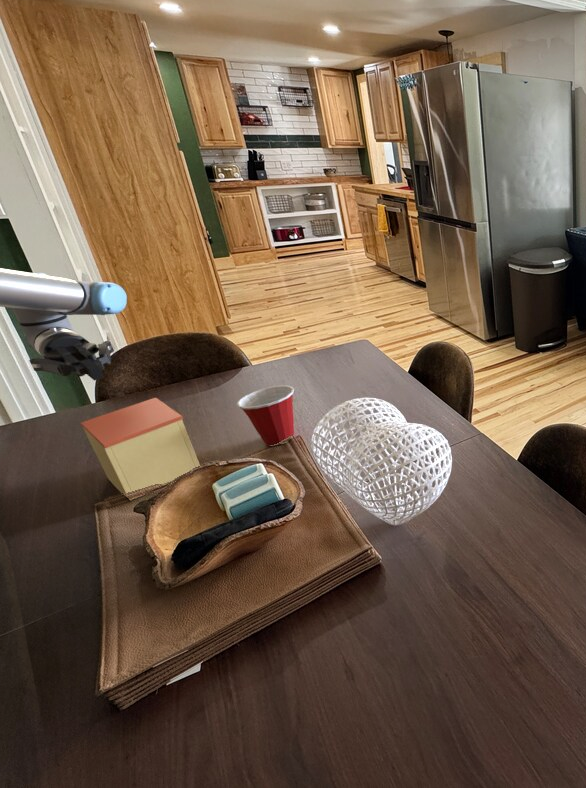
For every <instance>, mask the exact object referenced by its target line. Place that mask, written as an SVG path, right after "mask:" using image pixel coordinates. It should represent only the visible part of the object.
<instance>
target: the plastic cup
mask: <svg viewBox="0 0 586 788" xmlns="http://www.w3.org/2000/svg"><path fill="white" fill-rule="evenodd" d="M294 391H295V388H294V387H293V386H292V385H286V384H283V385H273V386H269V387H264V388H261V389H258V390H255V391H253V392H251V393H248V394H245V395H244V396H243V397H241V398H240V399H238V401H237V402H236V406H237V407H238V408H239V409H241V410H242V411H243V413H245V415H246V416H247V417H248V419H249V421H250V422H251V424H252V425H253V428H254V429H255V430H256V432H257V434H258V435H259V437H260V438H261V440H262V442H263V443H264V444H265V445H266V446H267V447H270V445H274V444H277V443H279V442H281V441H282V440H284V439H286V438H288V437H289V436H293V435H294V436H295V425H294V424H295V420H294V419H295V418H294V405H293V401H294V400H293V399H294V398H293V397H294Z"/></svg>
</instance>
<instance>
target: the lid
mask: <svg viewBox="0 0 586 788" xmlns="http://www.w3.org/2000/svg"><path fill="white" fill-rule="evenodd" d="M183 419H184V418H183V415H181V414H180V413H178V412H177V411H176V410H174V409H173V408H171V407H170V406H168V405H167V404H166V403H164V402H163V401H161V400H160V399H159V398H157V397H152V398H150V399H147V400H144V401H141V402H139V403H138V402H137V403H134V404H132V405H129V406H126V407H123V408H120V409H117V410H113V411H110V412H109V413H105V414H102V415H99V416H96V417H93V418H90V419H87V420H85V421H81V422H80V425H81V427H82V426H83V427H84V428H85V429H86V430H87V431H88V432H89V433H90V434H91V435H92V436H93V437H94V438H95V439H96V440H97V441H98V442H99V443H100V444H101V445H102V446H103V447H104V448H108V447H110V446H113V445H116V444H118V443H121V442H124V441H126V440H129V439H132V438H134V437H137V436H140V435H142V434H145V433H148V432H150V431H153V430H156V429H158V428H161V427H163V426H166V425H169V424H171V423H174V422H177V421H179V420H182V421H183ZM83 427H82V428H83Z"/></svg>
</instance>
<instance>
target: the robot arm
mask: <svg viewBox="0 0 586 788" xmlns="http://www.w3.org/2000/svg"><path fill="white" fill-rule="evenodd" d="M127 299H128V296H127V293H126V291H125V290H124V289H123V287H122V286H121V285H119V284H117V283H115V282H105V281H96V282H95V281H86V280H85V281H84V280H80V279H79V280H77V279H70V278H65V277H61V276H60V277H59V276H54V275H53V276H52V275H48V274H47V273H44V272H40V271H39V272H27V271H21V270H15V269H8V268H2V267H0V307H2V308H11V310H12V312H13V313H14V315H15V317H16V319H17V321H18V324H19V327H20V329H21V330H22V332H23V338H24V340H25V341H26V344H27V345H28V347H30V348H31V349H33V350H34V351H35V352H37V353H38V354H39V356H41V357H39V358H37V357H36V358H34V357H33V358H31V359H29V360H28V362H29V363H30V365H31V367H32V369H33V371H34V372H46V373H50V374H54V375H57V376H61V377H68V376H71V375H72V373H74V374H76V377H77V378H81V377H84V376H86V375H87V376H88V377H89V378H91V379H92V381H94V382H95V381H98V380H102V379H105V376H104V374H103V372H102V371H103V370H105V366H109V365H111V363H112V358H111V356H112V354H113V352H114V351H115V349H114V347H113V344H112V343H111V340H105V341H103V342H101V343H98V344H96V343H94V342H89V340H87V339H86V338H85V337H83V336H81V334H79V333H78V332H76V331H74V329H73V327H72V324H71V323H70V321H69V317H68V316H74V315H75V316H76V315H77V316H79V315H80V316H86V315H87V316H106V315H116V314H119V313H121V312H122V311H123V310H124V309H125V308H126V306H127V303H128V300H127ZM97 353H98V356H96V354H97Z"/></svg>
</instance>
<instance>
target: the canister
mask: <svg viewBox="0 0 586 788" xmlns="http://www.w3.org/2000/svg"><path fill="white" fill-rule="evenodd" d="M81 427H82V429H83V431H84V433H85V435H86V437H87V440H88V441H89V443H90V445H91V447H92V450H93V451H94V454H95V455H96V458H97V459H98V462H99V463H100V466H101V468H102V469H103V471H104V473H105V477H106V478H107V479H108V480H109V482H111V484H112V485H113V486H114V487H115V488H116V490H118V491H119V492H120V493H121V494H122V493H128V492H132V491H135V490H138V489H142V488H145V487H148V486H151V485H155V484H164V483H167V482H170V481H172V480H174V479H175V478H177V477H179V476H181V475H183V474H185V473H187V472H189V471H190V470H192V469H193V468H195V467H198V466H200V467H201V464H200V462H199V459H198V457H197V454H196V452H195V449H194V446H193V444H192V442H191V439H190V437H189V434H188V431H187V429H186V426H185V424H184V421H183V419H182V420H179V421H177V422H174V423H171V424H169V425H166V426H163V427H161V428H158V429H156V430H153V431H150V432H148V433H145V434H142V435H140V436H137V437H134V438H132V439H129V440H126V441H124V442H121V443H118V444H116V445H113V446H110V447H108V448H104V447H103V446H102V445H101V444H100V443H99V442H98V441H97V440H96V439H95V438H94V437H93V436H92V435H91V434H90V433H89V432H88V431H87V430H86V429H85V428H84V427H83V426H82V425H81Z"/></svg>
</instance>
